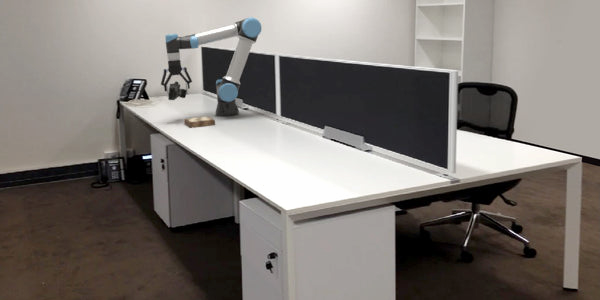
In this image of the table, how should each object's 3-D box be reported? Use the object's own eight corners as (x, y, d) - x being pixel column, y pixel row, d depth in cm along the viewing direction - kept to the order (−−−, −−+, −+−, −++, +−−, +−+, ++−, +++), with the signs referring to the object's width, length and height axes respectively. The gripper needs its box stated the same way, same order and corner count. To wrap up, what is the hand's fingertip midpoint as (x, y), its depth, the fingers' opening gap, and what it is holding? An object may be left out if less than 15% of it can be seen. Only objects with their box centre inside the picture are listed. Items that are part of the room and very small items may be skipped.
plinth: (208, 121, 368) (208, 116, 367) (215, 124, 355) (214, 119, 354) (184, 124, 362) (184, 118, 362) (190, 127, 349) (189, 122, 348)
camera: (182, 102, 362) (184, 86, 360) (167, 100, 361) (169, 83, 359) (186, 98, 379) (188, 82, 377) (172, 96, 378) (173, 80, 376)
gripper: (191, 57, 371) (195, 92, 376) (153, 61, 362) (157, 96, 367) (194, 58, 365) (198, 93, 370) (155, 61, 356) (159, 98, 361)
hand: (177, 95), depth 368 cm, fingers closed on camera, 11 cm apart
